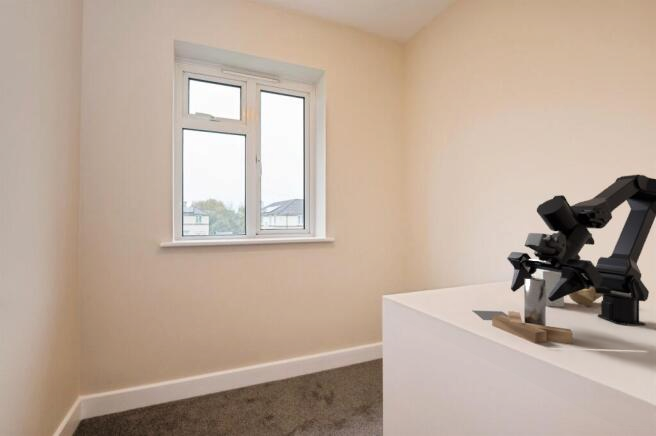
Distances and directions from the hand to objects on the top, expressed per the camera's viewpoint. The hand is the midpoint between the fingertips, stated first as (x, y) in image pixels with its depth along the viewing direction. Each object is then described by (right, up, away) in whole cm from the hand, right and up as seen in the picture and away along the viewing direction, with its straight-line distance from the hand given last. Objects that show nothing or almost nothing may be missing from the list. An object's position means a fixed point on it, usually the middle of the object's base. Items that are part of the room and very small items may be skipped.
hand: (529, 294), depth 69 cm
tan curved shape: (+34, -9, +25) cm, 43 cm away
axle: (+1, -9, 0) cm, 9 cm away
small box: (+22, -9, +25) cm, 35 cm away
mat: (-2, -9, +12) cm, 15 cm away
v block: (-1, -9, 0) cm, 9 cm away
